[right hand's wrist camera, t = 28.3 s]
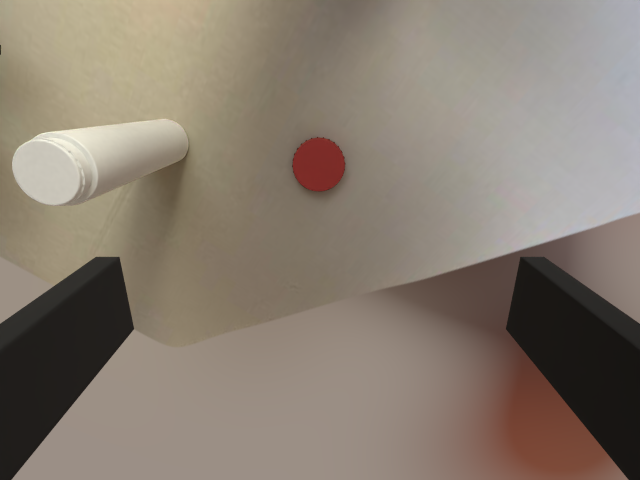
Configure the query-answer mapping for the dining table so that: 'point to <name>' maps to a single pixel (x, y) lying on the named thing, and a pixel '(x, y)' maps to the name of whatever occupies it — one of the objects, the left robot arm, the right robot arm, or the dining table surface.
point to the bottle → (95, 159)
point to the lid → (318, 164)
